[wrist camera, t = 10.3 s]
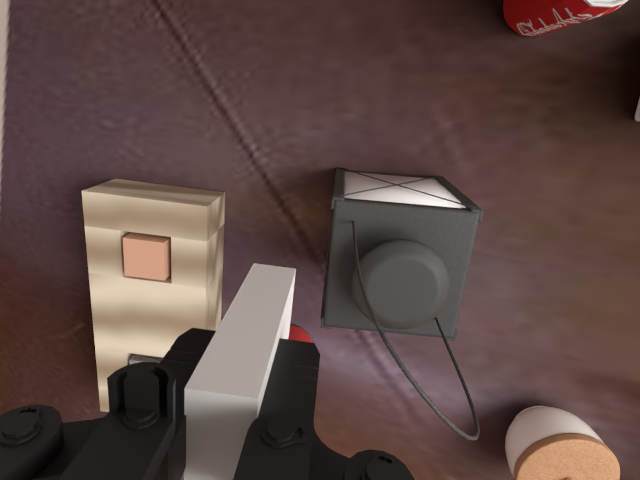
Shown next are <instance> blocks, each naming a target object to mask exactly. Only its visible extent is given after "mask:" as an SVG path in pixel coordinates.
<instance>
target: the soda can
mask: <svg viewBox="0 0 640 480" xmlns="http://www.w3.org/2000/svg"><path fill="white" fill-rule="evenodd" d="M627 1H628V0H504V2H503V12H504V18H505V20H506V23H507V25H508V26H509V27H510V28H512V29H513V30H514V31H515V32H516V33H518V34H519V35H522V36H535V37H536V36H540V35H543V34H546V33H549V32H552V31H555V30H559V29H562V28H565V27H568V26H571V25H574V24H577V23H581V22H584V21H587V20H590V19H593V18H596V17H599V16H602V15H605V14H608V13H611V12H613V11H614V10H616V9H617V8H619V7H621V6H622V5H623V4H624V3H625V2H627Z"/></svg>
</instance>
